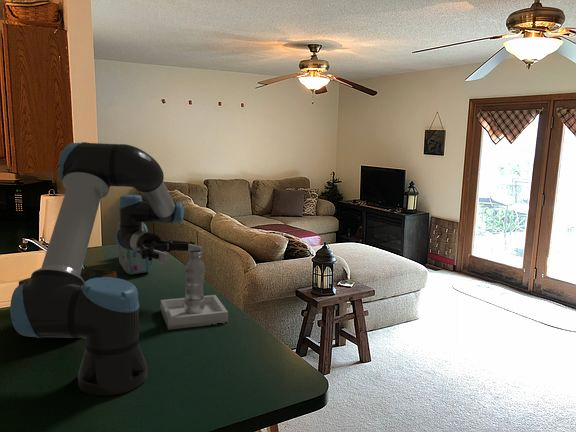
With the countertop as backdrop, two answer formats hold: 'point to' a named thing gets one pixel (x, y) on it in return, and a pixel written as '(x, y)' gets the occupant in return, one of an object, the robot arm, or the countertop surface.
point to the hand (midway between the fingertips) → (184, 254)
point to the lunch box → (133, 259)
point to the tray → (181, 319)
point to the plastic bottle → (194, 283)
